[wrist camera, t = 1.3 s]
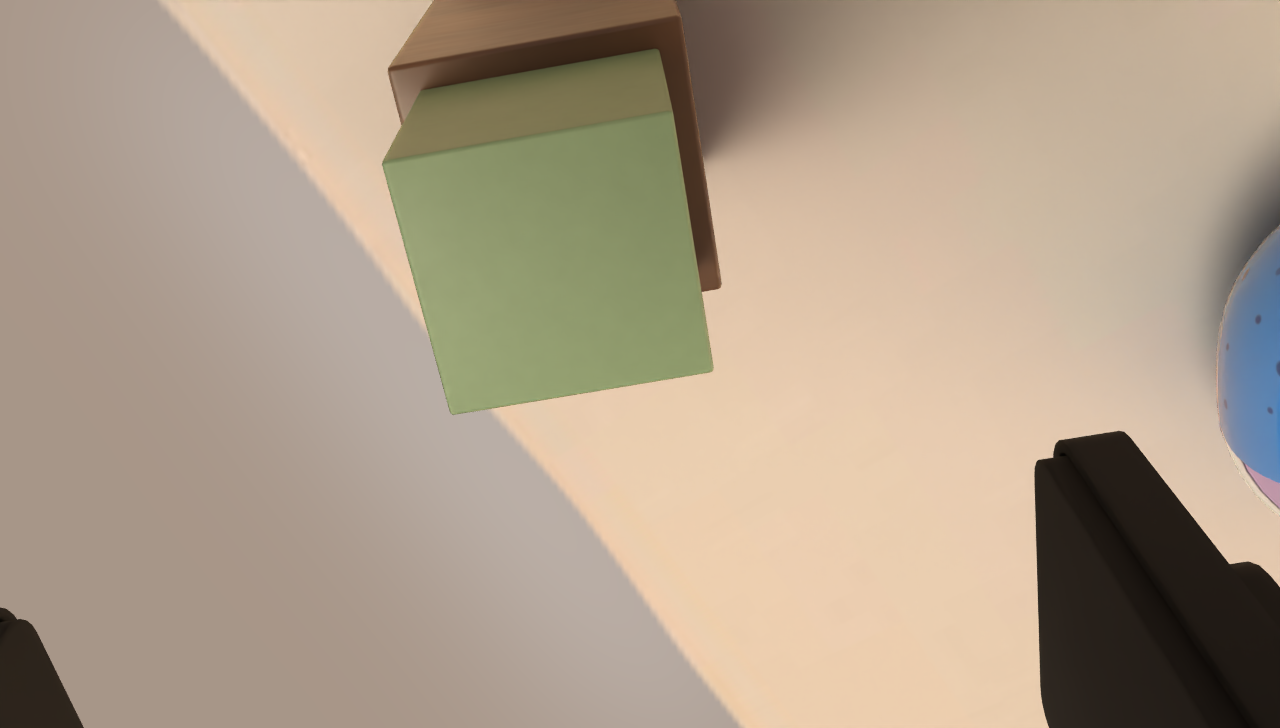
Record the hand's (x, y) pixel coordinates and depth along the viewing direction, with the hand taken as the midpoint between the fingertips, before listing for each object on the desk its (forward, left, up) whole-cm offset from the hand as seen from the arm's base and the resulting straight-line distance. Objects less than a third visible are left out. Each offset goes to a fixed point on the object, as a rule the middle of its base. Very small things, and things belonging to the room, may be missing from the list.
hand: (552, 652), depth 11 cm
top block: (0, 0, -14) cm, 14 cm away
